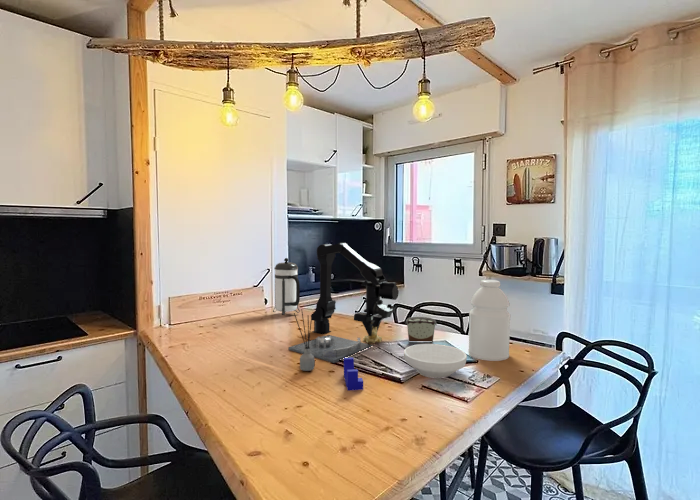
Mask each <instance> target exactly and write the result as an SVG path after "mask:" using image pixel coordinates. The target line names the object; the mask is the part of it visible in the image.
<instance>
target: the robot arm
mask: <svg viewBox="0 0 700 500" xmlns="http://www.w3.org/2000/svg"><path fill="white" fill-rule="evenodd" d="M336 254H340V255H342V256H343V257H344V258H345V259H346V260H347V261H349V262H350V263H351V264H352V265H354V266H355V268H357V269H358V270H359V271H360V274H361V276H362V277H363V278H364V279H365V280H364V282H363V283H361V286H362V287H365V290H366V291H365V292H366V293H365V299H363V302H364V303H365V309H363V312H362V311H360V312H357V313H354V315H353V321H354V322H355V321H356V322H361V323H362V325H363V327H364V329H365V332H366V333H367V336H368V335H369V336H371V334H372V325H373V326H377V332H378V331H379V328H380V326H381V323H382V321H383V320H384V319H388V318H391V317H392V314H393V313H395V310H394V304H393V303H388V304H384V303H383V299H385V300H392V301H396V300H397V299H398V297H399V293H400V292H399V291H400V290H399V287H398V286H397V282H388V280H387V278H386V277H385V276H384V274H383V269H382V268H381V267H379V266H378V265H377V264H374V263H372V262H369V261H368V260H366V259H365V258H363V257H362V256H361V255H360V254H358V253H357V251H356V250H354V249H352V248H351V247H350V246H349V245H348V243H346V242H338V243H335V244H332V243H331V244H330V243H329V244H328V243H325V244H320V245H318V246H317V247H316V257H317V260H318V262H319V265H320V271H319V272H320V275H319V283H320V284H319V298H318V300H317V302H316V306H315V311H313V313H311V315H312V321H313V330H312V331H311V333H315V334H318V335H326V334H328V333H331V332H332V330H330V319H331V318H332V316H333V314H334V313H335V310H336V309H337V308H336V302H337V301H336V300H333V298H332V265H333V262H334V261H335V258H336Z"/></svg>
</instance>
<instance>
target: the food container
mask: <svg viewBox="0 0 700 500" xmlns="http://www.w3.org/2000/svg"><path fill="white" fill-rule="evenodd" d="M405 324H406V326H407V327H406V328H407V337H408V342H409V341H432V342H433V343H434V335H435V330H436V326H437V325H438V324H437V321H436V319H434V318H433V317H432V318H431V317H428V316H426V317H425V316H411V317H408V318H407V319H406V320H405Z"/></svg>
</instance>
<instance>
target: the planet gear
mask: <svg viewBox="0 0 700 500" xmlns="http://www.w3.org/2000/svg"><path fill="white" fill-rule="evenodd" d="M362 339H363V340H362V341H363V342H366V344H376V343H375V342H377V343H379V342H380V343H381V342H382V341H383V337H382V336H380V335H378V331H377V326H373V325H372V334H371V336H369V335H368V334H367V335H364V336H363V337H362Z"/></svg>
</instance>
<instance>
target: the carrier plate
mask: <svg viewBox="0 0 700 500" xmlns="http://www.w3.org/2000/svg"><path fill="white" fill-rule="evenodd" d="M305 344H306V341H305ZM305 344H304V342H302V343H297V344H295V345H291V346H288V350H289V351H292V352H294V353H298V354H301V355H303V354H304V348H305ZM371 346H373V347H374V345H373V344H371V343H365V342H362V341H361V337H357V341H356V340H353V339H348V338H344V337H339V336H336V335H330V334H328V335H322V336H317V337H316V338H315V339H312V340H309V347H310V353H311V354H312V355H313V356H314V359H317V360H322V361H326V362H329V363H333V364H335V363H338V362H340V361H339V360H340V359H343V358H345V357H348V356H351V355H353V354H355V353H357V352H359V351H362V350H364V349H366V348H369V347H371ZM306 347H308V340H307V346H306ZM353 356H354V355H353ZM351 357H352V356H351ZM348 358H349V357H348ZM343 360H344V359H343Z"/></svg>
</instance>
